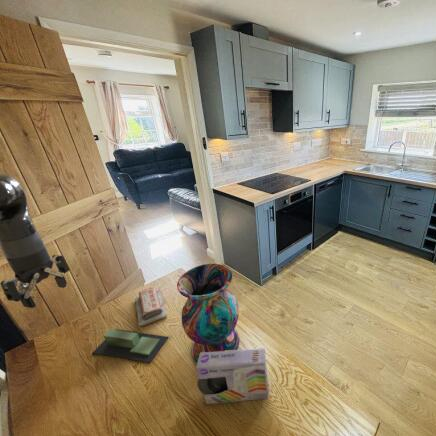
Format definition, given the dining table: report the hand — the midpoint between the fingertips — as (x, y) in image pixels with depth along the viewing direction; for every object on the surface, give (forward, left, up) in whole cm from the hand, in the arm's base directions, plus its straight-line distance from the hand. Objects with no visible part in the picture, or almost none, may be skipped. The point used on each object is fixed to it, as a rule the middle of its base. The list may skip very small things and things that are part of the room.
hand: (48, 296), depth 70 cm
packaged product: (+9, +24, -27) cm, 37 cm away
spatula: (+14, +7, -26) cm, 31 cm away
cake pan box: (+57, -4, -27) cm, 64 cm away
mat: (+14, +7, -27) cm, 31 cm away
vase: (+44, +12, -27) cm, 53 cm away
